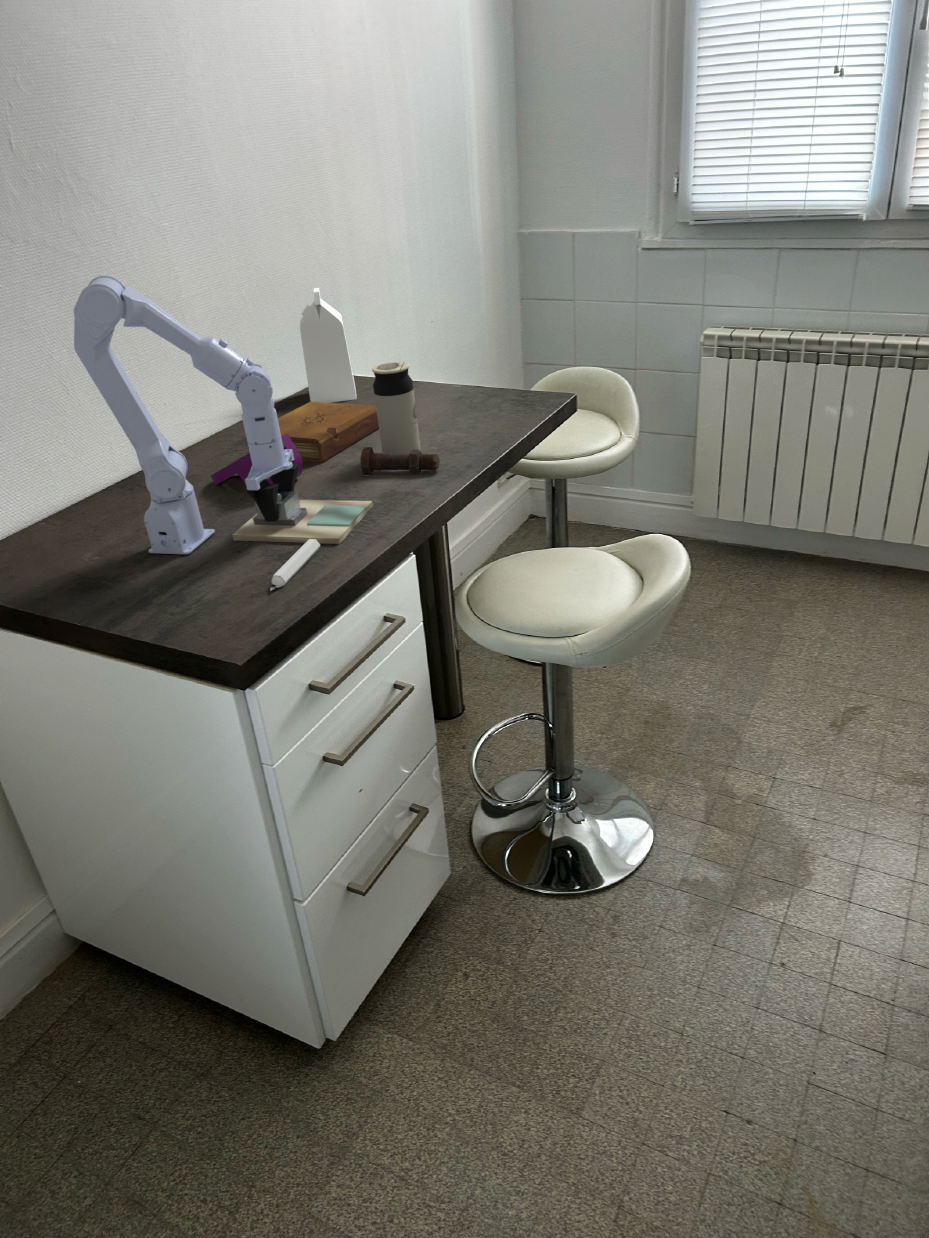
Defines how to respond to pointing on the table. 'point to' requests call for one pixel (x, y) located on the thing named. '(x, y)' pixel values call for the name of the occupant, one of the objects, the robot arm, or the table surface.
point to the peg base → (290, 522)
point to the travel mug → (396, 408)
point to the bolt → (397, 461)
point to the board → (311, 523)
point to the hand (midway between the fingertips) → (279, 513)
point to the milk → (326, 353)
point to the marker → (294, 563)
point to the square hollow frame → (284, 505)
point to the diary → (327, 428)
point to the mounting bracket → (245, 464)
